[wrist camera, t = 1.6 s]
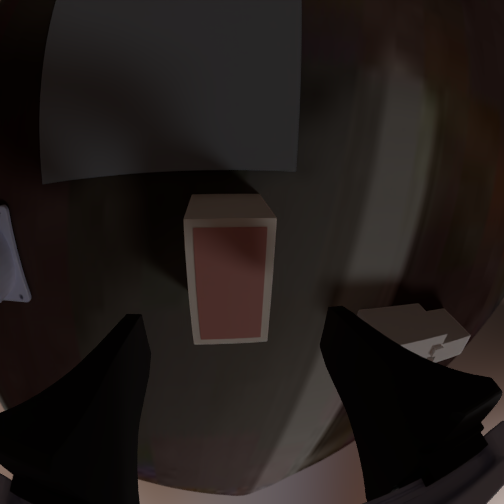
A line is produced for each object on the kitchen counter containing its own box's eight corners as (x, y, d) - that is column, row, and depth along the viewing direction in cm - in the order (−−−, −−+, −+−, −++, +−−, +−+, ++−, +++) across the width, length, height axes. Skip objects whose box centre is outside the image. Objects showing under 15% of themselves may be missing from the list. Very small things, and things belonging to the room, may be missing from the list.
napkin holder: (315, 329, 22) (338, 379, 17) (412, 230, 20) (458, 261, 14) (389, 378, 28) (410, 413, 23) (458, 311, 25) (486, 340, 20)
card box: (197, 295, 19) (194, 345, 14) (192, 194, 16) (183, 219, 12) (254, 293, 19) (267, 341, 15) (259, 193, 17) (277, 218, 12)
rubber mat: (46, 182, 14) (42, 184, 14) (60, -5, 8) (57, -7, 8) (293, 170, 16) (296, 171, 16) (298, -26, 10) (300, -29, 10)
